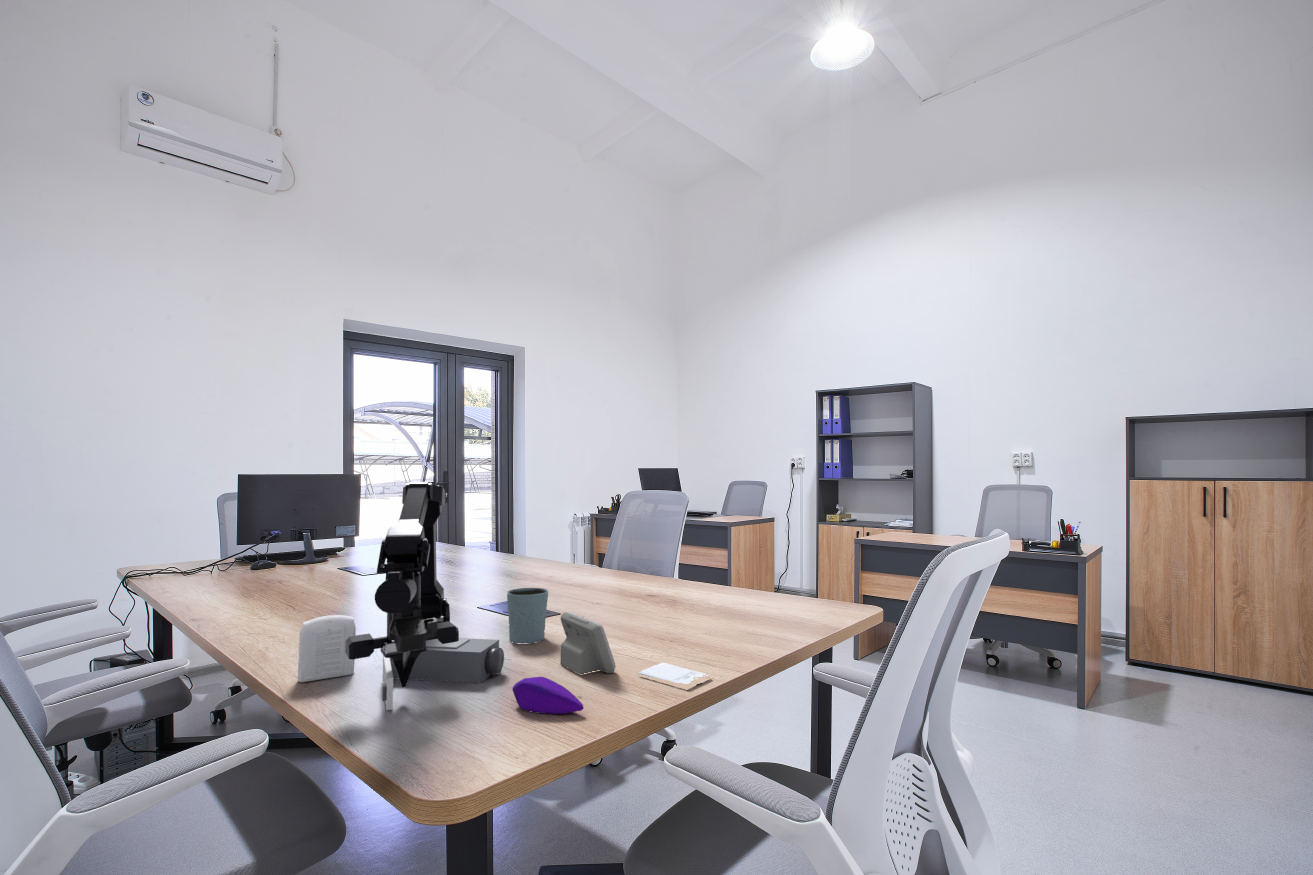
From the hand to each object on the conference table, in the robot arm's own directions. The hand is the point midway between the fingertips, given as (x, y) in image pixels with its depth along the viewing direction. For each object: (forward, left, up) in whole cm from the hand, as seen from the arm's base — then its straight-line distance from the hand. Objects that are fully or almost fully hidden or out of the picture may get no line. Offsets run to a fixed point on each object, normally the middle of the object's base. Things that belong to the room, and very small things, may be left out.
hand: (403, 686), depth 110 cm
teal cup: (-42, +8, -3) cm, 43 cm away
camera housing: (-15, 0, -3) cm, 16 cm away
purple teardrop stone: (0, +27, -3) cm, 28 cm away
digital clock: (-24, +28, -3) cm, 37 cm away
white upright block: (-10, -23, -3) cm, 25 cm away
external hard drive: (-19, +48, -3) cm, 52 cm away
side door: (-2, -5, -2) cm, 6 cm away
